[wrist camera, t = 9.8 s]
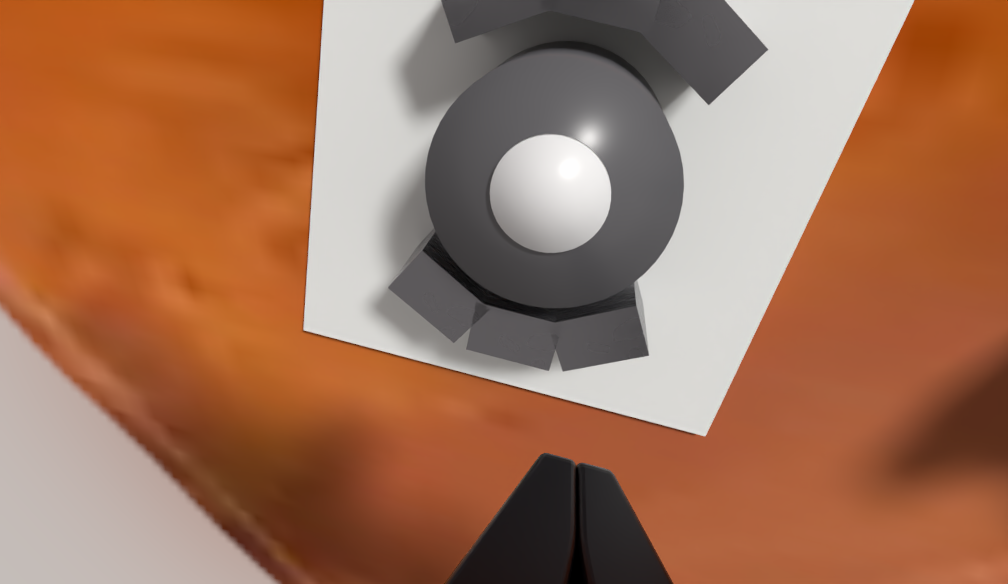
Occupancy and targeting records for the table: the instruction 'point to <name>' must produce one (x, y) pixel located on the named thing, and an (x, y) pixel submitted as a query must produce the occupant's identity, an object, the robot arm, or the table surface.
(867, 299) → the table surface
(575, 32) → the mat
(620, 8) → the curved wall segments
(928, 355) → the table surface
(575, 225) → the grey cylinder white dome
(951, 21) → the table surface
